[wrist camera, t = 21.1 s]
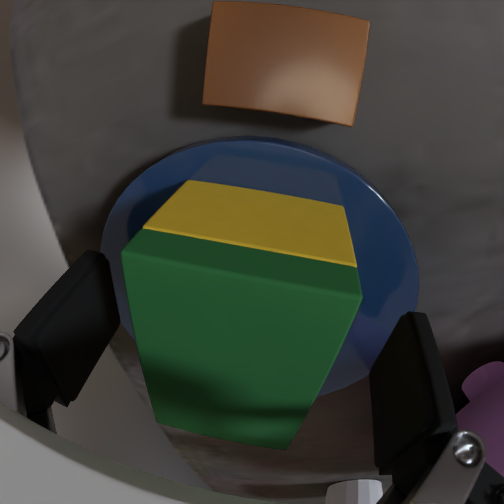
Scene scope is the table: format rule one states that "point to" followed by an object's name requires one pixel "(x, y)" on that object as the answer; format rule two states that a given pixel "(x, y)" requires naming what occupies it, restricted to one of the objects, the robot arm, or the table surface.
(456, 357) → the table surface
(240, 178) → the plate
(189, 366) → the sponge
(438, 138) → the table surface
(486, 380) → the teapot
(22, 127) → the table surface
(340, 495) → the shot glass
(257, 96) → the brown block
